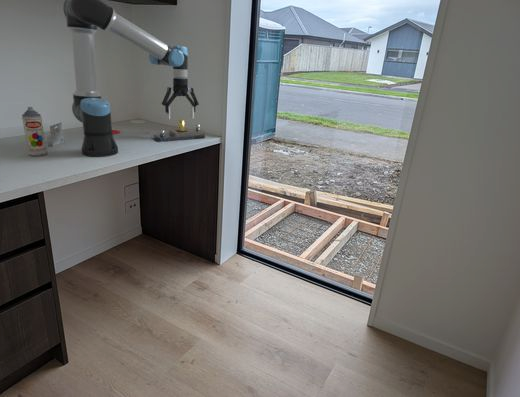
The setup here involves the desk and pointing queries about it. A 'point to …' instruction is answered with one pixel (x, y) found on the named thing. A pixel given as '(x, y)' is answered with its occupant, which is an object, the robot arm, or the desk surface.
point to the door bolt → (181, 134)
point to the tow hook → (115, 131)
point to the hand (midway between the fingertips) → (180, 118)
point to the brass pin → (181, 125)
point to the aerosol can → (34, 133)
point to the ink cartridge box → (55, 135)
